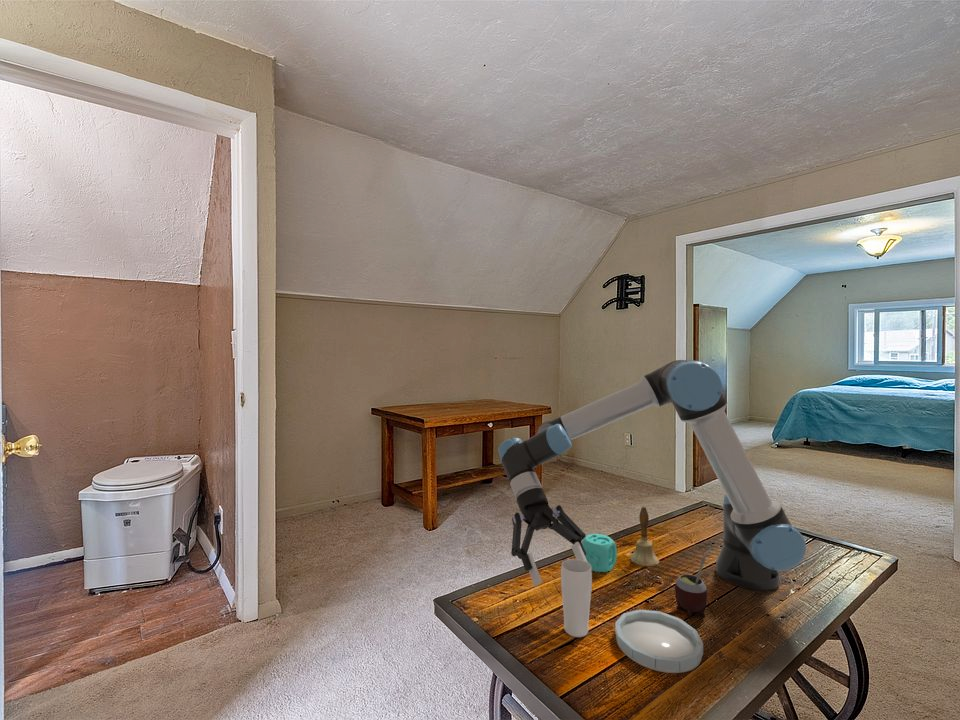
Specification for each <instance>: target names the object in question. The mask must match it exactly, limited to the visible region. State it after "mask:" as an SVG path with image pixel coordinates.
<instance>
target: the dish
mask: <svg viewBox="0 0 960 720" xmlns="http://www.w3.org/2000/svg"><path fill="white" fill-rule="evenodd" d="M614 626H615V627H614V628H615V629H614V633H615V639H616V643H617V647H619V649H620V651H621V652H623V654H624V655H625V656H627V657H628V659H630V660H632V661H634V662H635V663H636V664H638V665H641V666H642V667H644V668H647V669H650V670H653V671H656V672H660V673H666V674H681V673H687V672H690V671H692V670H694V669H696V668H697V667H698V666H699V665H700V664H701V663H702V658H703V655H704V642H703V640H702V638H701V637H700V635H699V633H698V631H697V630H696V628H694V627H693V626H691V625H689V624H688V623H687V622H686V621H684V620H683V619H681V618H680V617H677V616H674V615H672V614H669V613H665V612H662V611H659V610H648V609H636V610H632V611H628V612H624V613H622V614H621V615H620V617H618V618H617V621H615V623H614Z"/></svg>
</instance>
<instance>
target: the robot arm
mask: <svg viewBox="0 0 960 720" xmlns="http://www.w3.org/2000/svg"><path fill="white" fill-rule="evenodd" d="M668 404H672V405H673V407H674V410H675V412H676V414H677V415H678V416H679V419H680V421H681V422H683V423H686V424H688V425H690V427H691V429H692V431H693V433H694V435H695V437H696V438H697V441H698V443H699V445H700V446H701V448H702V451H703V453H704V454H705V456H706V458H707V461H708V462H709V464H710V466H711V468H712V470H713V472H714V474H715V476H716V477H717V480H718V482H719V484H720V485H721V488H722V489H723V491H724V493H725V495H724V497H723V503H722V507H723V509H722V510H723V522H722V523H723V524H722V525H723V527H722V529H723V531H722V534H723V536H722V537H723V538H722V540H723V541H722V542H723V543H722V545H721V549H720V551H719V554H718V556H717V559H716V562H715V572H716V574H717V576H719V577H720V578H721V579H723V580H724V581H726V582H728V583H729V584H732V585H734V586H737V587H740V588H743V589H748V590H752V591H764V592H765V591H773V590H775V589H777V588H778V587H779V585H780V574H779V572H781V571H787V570H788V571H789V570H790V569H793V568H795V567H797V566H798V565H799V564H800V563H801V562H802V560H803V558H804V557H805V555H806V551H807V543H806V541H805V539H804V537H803V535H802V533H801V532H800V531H799V530H798V529H797V528H796V527H794V526H793V525H792V523H791V522H790V520H789V518H788V516H787V514H786V512H785V511H784V509H783V506H782V505H781V503H780V502H779V501H778V500H776V499H773V498H771V497H770V496H769V495H768V493H767V491H766V488H765V487H764V485H763V483H762V481H761V478H760V477H759V475H758V474H757V472H756V470H755V468H754V465H753V464H752V462H751V459H750V458H749V456H748V454H747V452H746V450H745V449H744V447H743V445H742V442H741V440H740V439H739V437H738V435H737V433H736V431H735V429H734V427H733V426H732V423H731V421H730V419H729V417H728V415H727V413H726V412H725V411H726V408H727V407H728V401H727V400H726V397H725V396H724V393H723V383H722V379H721V377H720V375H719V373H718V372H717V371H716V370H715V369H714V368H712V366H709V365H708V364H707V363H705V362H702V361H699V360H693V359H692V360H691V359H690V360H685V359H677V360H673V361H670V362H668V363H666V364H665V365H662V366H660V367H659V368H657V369H655V370H653V371H651V372H650V373H647V374H644V375H642V376H641V378H640V381H639V382H636V383H634V384H632V385H629V386H627V387H625V388H622V389H621V390H618V391H615V392H614V393H611V394H609V395H607V396H605V397H602V398H599V399H597V400H595V401H592V402H591V403H588V404H586V405H584V406H582V407H580V408H576V409H575V410H573V411H570V412H567V413H566V414H563V415H562V416H559V417H556V418H554V419H552V420H546V421H544V422H543V423H541V424H540V425H539V426H538V428H537V431H536V434H534V435H533V436H531V437H529V438H528V439H526V440H524V441H523V440H522V439H521V438H519V437H511V438H509V439H506V440H504V441H502V442H501V443H500V445H499V446H498V449H497V452H498V455H499V459H500V463H501V465H502V467H503V469H504V472H505V474H506V478H507V479H508V482H509V484H510V487H511V490H512V493H513V495H514V497H515V498H516V501H515V502H516V503H517V506H518V509H519V512H520V513H519V512H515V513H514V515H513V516H512V518H511V521H512V522H511V523H512V526H513V528H512V538H511V540H512V541H511V549H510V551H511V553H510V555H511V556H512V557H518V559H520V560H521V563H522V564H523V565H522V566H523V567H524V570H525V571H526V572H529V575H530V578H531V581H532V584H533V587H537V586H539V585H540V584H541V583H542V582H543V581H542V577H541V575H540V573H539V569H538V568H537V565H536V561H535V558H534V557H533V554H532V552H529V549H530V545H531V542H532V539H533V535H534V532H535V531H541V530H546V529H548V530H549V529H550V530H552V531H554V532H555V533H557V534H558V535H560V536H561V537H562V538H563V539H565V540H566V541H568V542H569V543H570V544H572V546H571V549H572V552H573V554H574V556H575V559H580V560H584V561H586V562H587V559H586V557H585V555H586V552H585V549H584V547H583V545H582V541H583V539H584V538H585V537H586V536H587V535H586V533H585V532H584V531H583V530H582V529H581V528H580V527H579V526H578V525H577V524H576V523H575V522H574V521H573V520H572V519H571V518H570V517H569V515H567V514H566V512H565V510H564V509H563V508H562V506H561V505H559V504H558V505H556V506H555V507H553V508H551V507H550V504H549V500H548V498H547V495H546V493H545V491H544V489H543V487H542V483H541V482H540V479H539V476H538V475H537V472H536V471H535V468H537V467H539V466H540V465H542V464H544V463H546V462H549V460H552V459H553V458H556V457H557V456H560V455H563V454H564V453H565V452H567V451H569V450H570V449H571V448H572V446H573V445H572V442H571V441H572V440H575V439H577V438H580V437H582V436H585V435H587V434H589V433H592V432H593V431H596V430H599V429H601V428H603V427H605V426H608V425H610V424H612V423H615V422H617V421H620V420H623V419H624V418H626V417H628V416H631V415H634V414H637V413H639V412H640V411H643V410H645V409H648V408H650V407H655V408H660V407H663V406H664V405H668ZM523 522H525V523H526V524H527V527H526V530H525V533H524V534H525V535H524V537H523V540H522V544H521V538H522V525H523V524H522V523H523Z"/></svg>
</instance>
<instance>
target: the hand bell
mask: <svg viewBox="0 0 960 720" xmlns="http://www.w3.org/2000/svg"><path fill="white" fill-rule="evenodd" d="M639 523H640V527H641V530H640V531H641V534H640V536H641V539H638V540H637V541H636V544H635V545H636V546H635V548H634V551H633V553H631V555H630V556H629V560H630V559H631V560H630V561H631V562H632V563H634V564H635V563H636V564H635V565H638V566H642V567H647V568H648V567H655V566H658V565H659V564H660V560H659V558H658V557H657V556H656V554H655V552H654V548H653V542H652V541H651V540H648V525H649V513H648V510H647V507H646V506H641V509H640V513H639Z"/></svg>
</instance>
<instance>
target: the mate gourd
mask: <svg viewBox="0 0 960 720" xmlns="http://www.w3.org/2000/svg"><path fill="white" fill-rule="evenodd" d="M712 550H713V548H712V547H710V548H709V549H708V550H707V551H705V553H704V555H703V556H702V557H701V560H700V564H699V568H698V572H697V575H693V574H682V575H680V576H679V577H677V578H676V581H675V584H674V595H675V600H676V604H677V605H676V609H677V610H679V611H681V612H685V613H687V614H686V619H688V620H691V618H692V617H693V615H694V616H699V617H701V618H705V617H706V614H705V611H706V610H707V606H708V595H709V594H708V590H707V586H706V584H705V583H704V581H703V579H701V578H700V577H701V574H702V570H703V566H704V564H705V562H706V558H707V557H708V555H709V554H710V553H711V551H712Z"/></svg>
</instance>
